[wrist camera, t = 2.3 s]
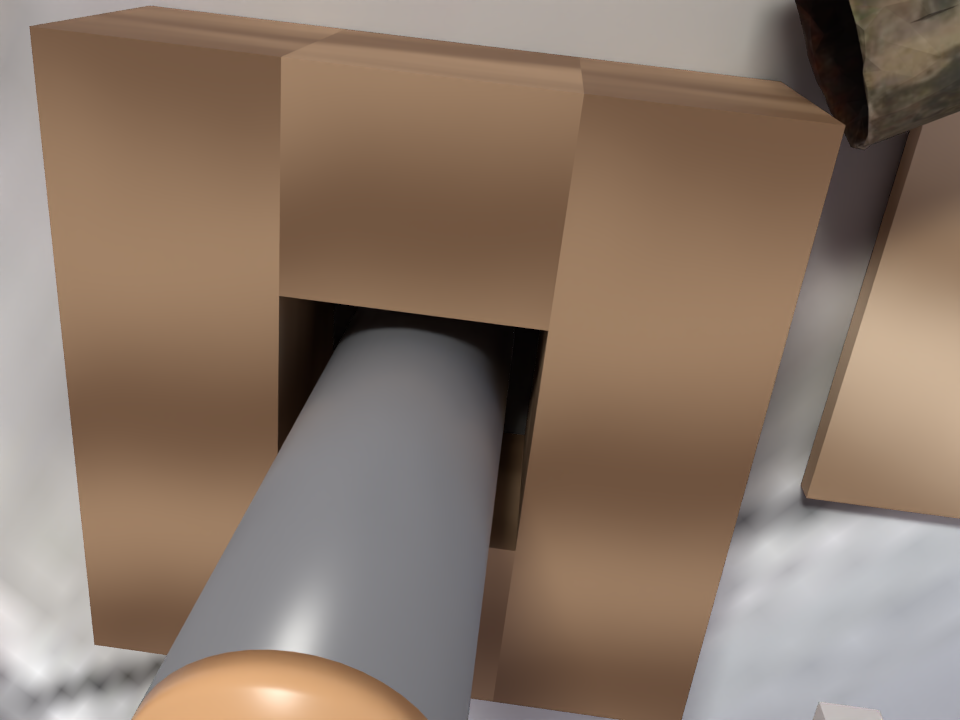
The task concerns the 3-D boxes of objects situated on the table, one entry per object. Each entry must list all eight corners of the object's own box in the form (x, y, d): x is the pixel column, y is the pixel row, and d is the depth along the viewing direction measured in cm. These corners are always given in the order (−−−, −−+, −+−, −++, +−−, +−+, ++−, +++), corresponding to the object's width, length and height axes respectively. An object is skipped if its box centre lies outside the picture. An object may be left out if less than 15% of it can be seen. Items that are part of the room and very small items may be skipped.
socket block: (149, 6, 20) (29, 26, 16) (781, 81, 20) (845, 125, 15) (175, 522, 26) (94, 644, 22) (658, 588, 26) (678, 727, 21)
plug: (361, 247, 22) (91, 665, 9) (523, 268, 22) (470, 720, 9) (354, 391, 24) (117, 908, 11) (504, 411, 24) (437, 957, 11)
